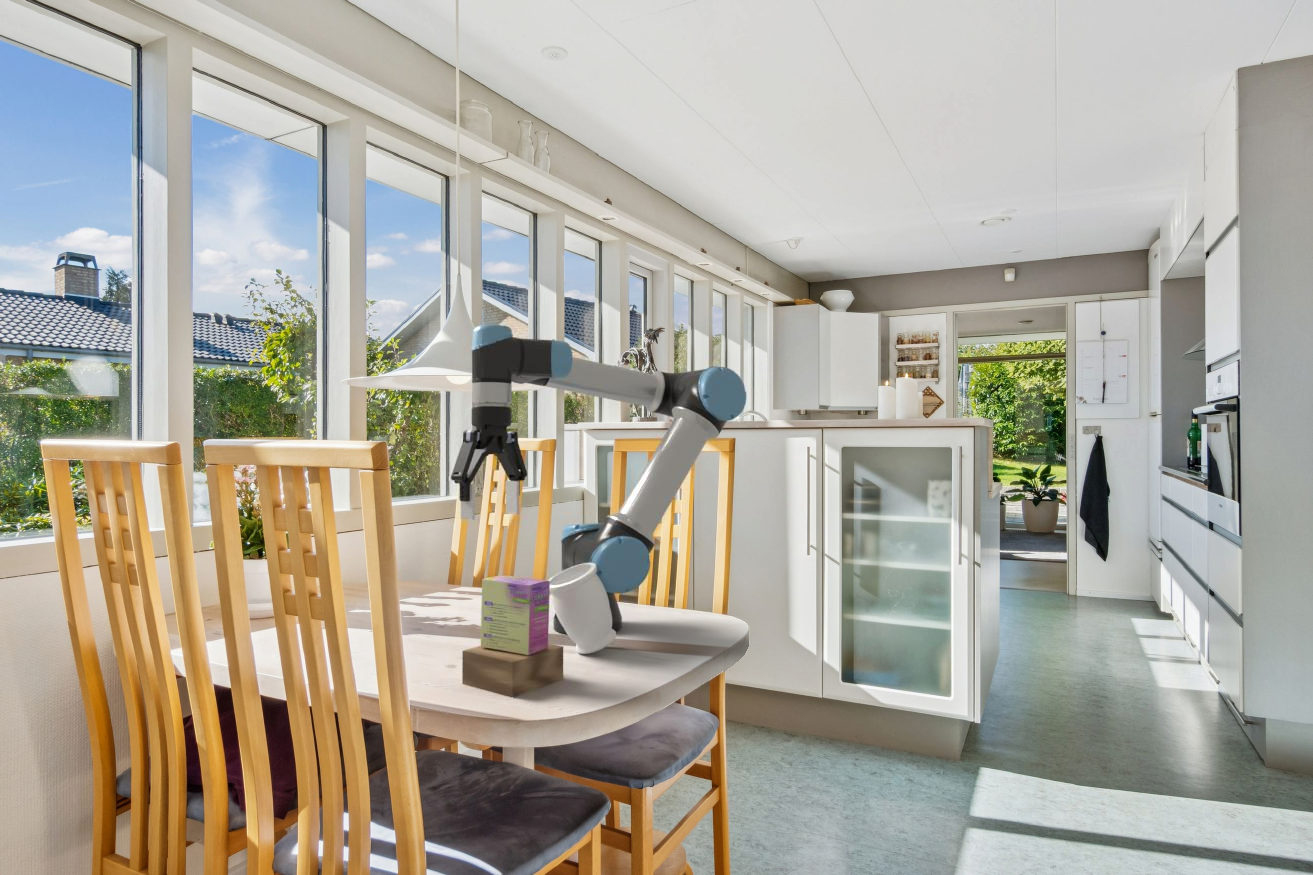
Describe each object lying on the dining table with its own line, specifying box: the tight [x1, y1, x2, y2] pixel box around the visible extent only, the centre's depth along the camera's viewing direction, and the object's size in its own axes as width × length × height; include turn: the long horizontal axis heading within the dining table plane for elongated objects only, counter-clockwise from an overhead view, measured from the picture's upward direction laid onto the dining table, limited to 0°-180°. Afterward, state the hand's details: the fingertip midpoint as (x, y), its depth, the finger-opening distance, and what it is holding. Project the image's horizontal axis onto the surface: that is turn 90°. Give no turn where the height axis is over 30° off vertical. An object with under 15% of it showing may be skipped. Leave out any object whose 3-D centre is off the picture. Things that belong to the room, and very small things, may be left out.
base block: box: [461, 643, 564, 698], centre depth 133 cm, size 12×12×6 cm
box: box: [480, 574, 551, 656], centre depth 133 cm, size 10×6×12 cm, turn 62°
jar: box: [547, 563, 617, 655], centre depth 151 cm, size 11×10×15 cm
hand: (491, 516), depth 149 cm, fingers open, 13 cm apart
